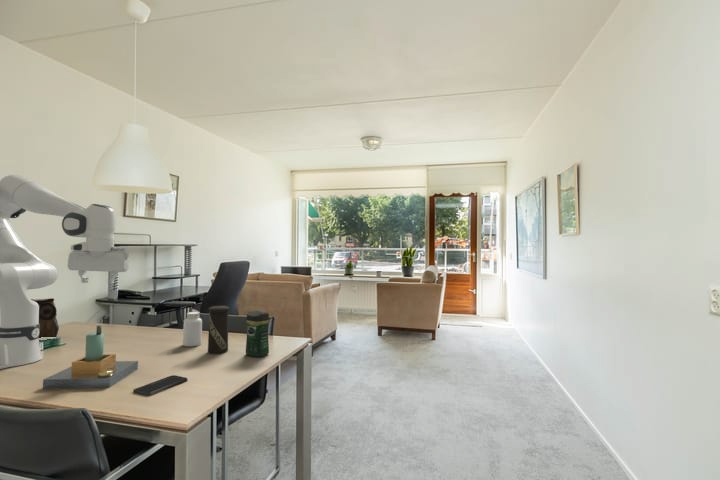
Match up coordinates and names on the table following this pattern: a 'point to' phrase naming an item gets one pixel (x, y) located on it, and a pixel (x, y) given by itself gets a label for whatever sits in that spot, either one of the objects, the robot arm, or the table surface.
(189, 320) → the pill bottle
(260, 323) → the coffee jar
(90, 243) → the robot arm
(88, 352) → the spout can
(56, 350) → the table surface
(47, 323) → the owl
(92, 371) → the wooden box with base
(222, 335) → the container
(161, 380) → the phone
